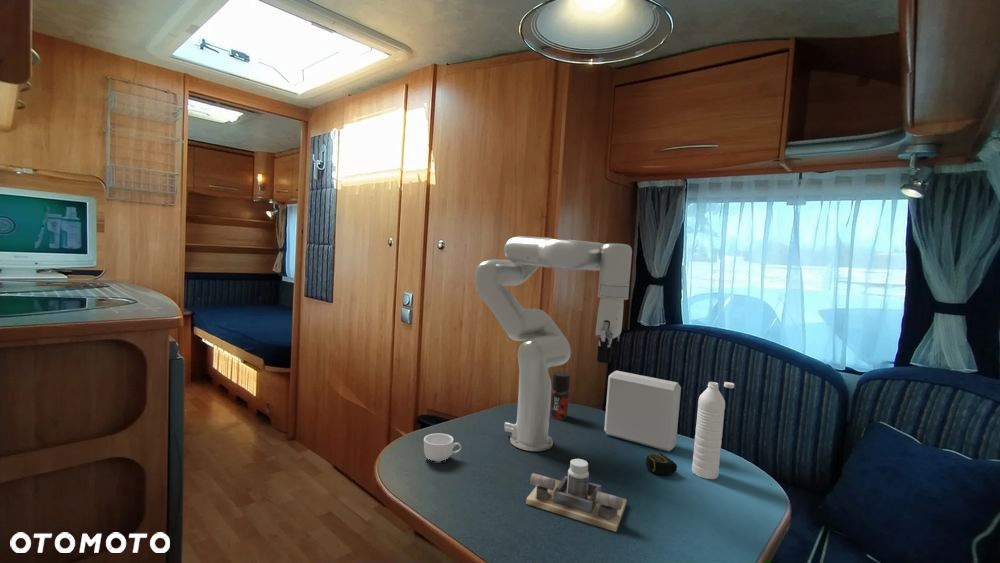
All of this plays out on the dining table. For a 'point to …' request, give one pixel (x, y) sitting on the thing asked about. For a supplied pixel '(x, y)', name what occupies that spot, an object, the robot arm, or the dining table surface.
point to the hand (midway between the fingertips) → (607, 358)
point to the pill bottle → (578, 478)
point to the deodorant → (559, 395)
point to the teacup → (439, 446)
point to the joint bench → (577, 502)
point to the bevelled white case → (642, 409)
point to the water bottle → (709, 432)
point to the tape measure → (660, 464)
